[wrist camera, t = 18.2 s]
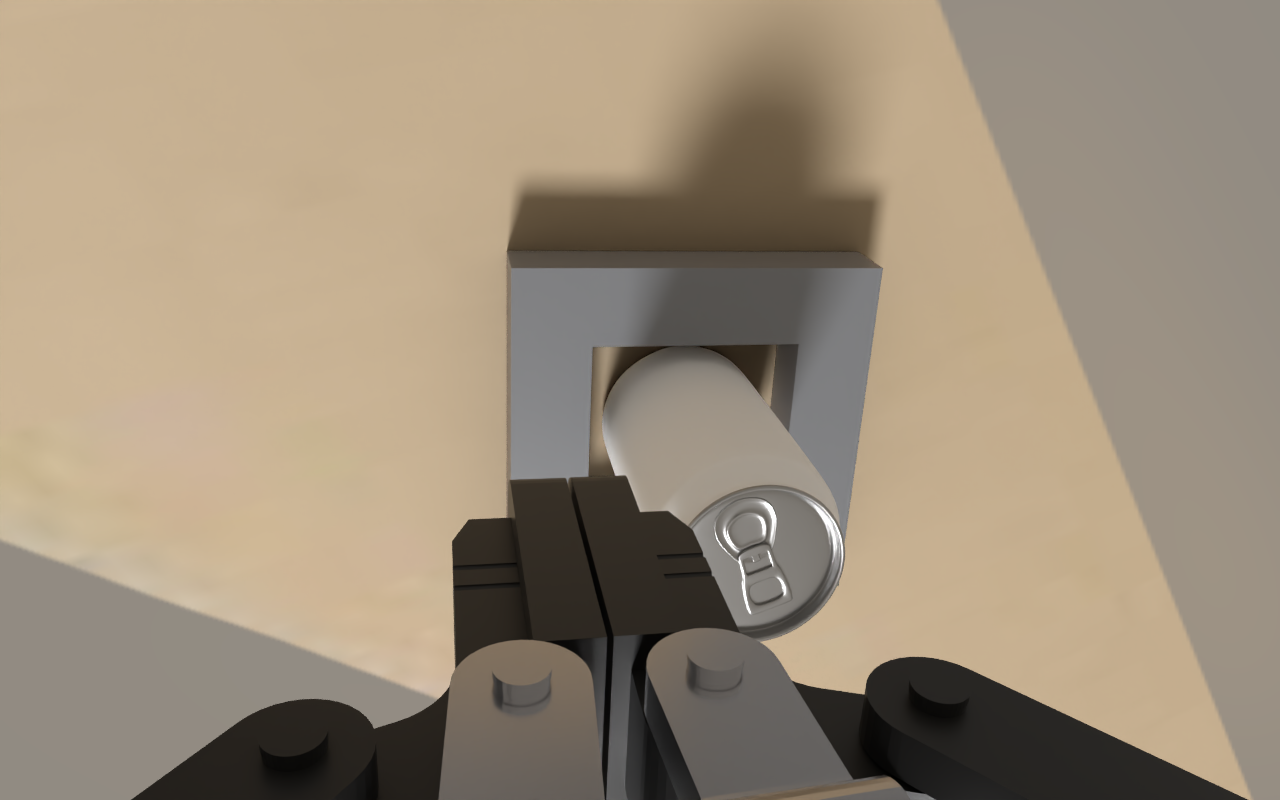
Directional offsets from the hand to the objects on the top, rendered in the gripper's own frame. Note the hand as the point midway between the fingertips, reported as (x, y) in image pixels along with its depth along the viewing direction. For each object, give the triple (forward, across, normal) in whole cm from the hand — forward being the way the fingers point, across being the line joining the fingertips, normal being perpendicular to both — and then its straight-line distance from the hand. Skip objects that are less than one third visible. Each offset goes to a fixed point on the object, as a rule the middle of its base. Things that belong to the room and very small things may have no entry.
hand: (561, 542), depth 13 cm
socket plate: (+27, -8, +10) cm, 30 cm away
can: (+27, -8, +10) cm, 30 cm away
